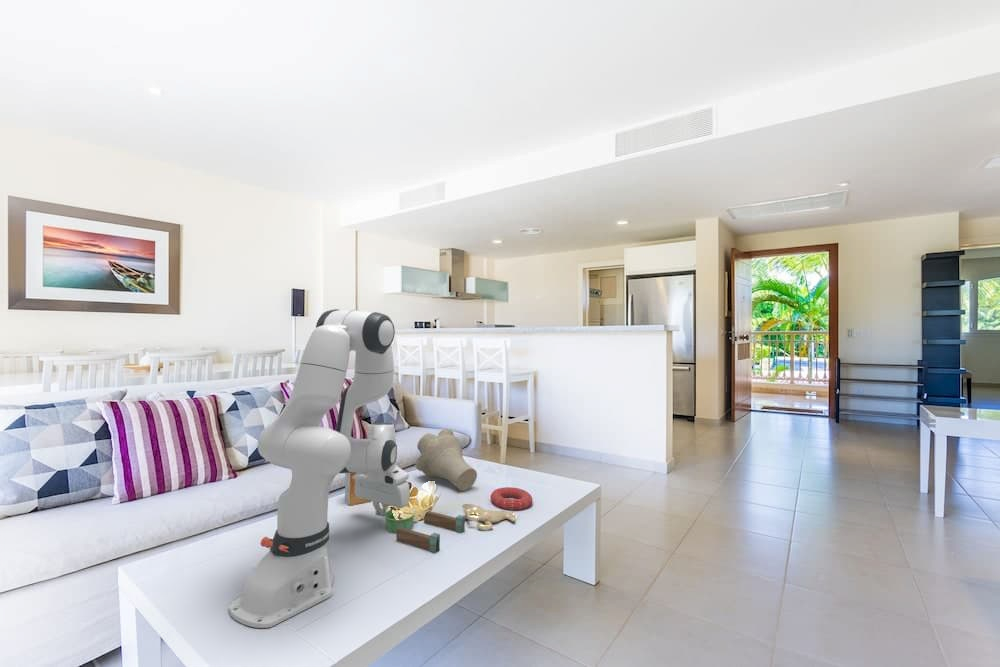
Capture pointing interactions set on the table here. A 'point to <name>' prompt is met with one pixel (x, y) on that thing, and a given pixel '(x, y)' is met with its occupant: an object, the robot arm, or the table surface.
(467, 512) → the unicorn
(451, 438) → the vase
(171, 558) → the table surface
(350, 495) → the small box
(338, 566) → the table surface
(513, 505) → the torus
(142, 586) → the table surface
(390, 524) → the ramekin
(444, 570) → the table surface
